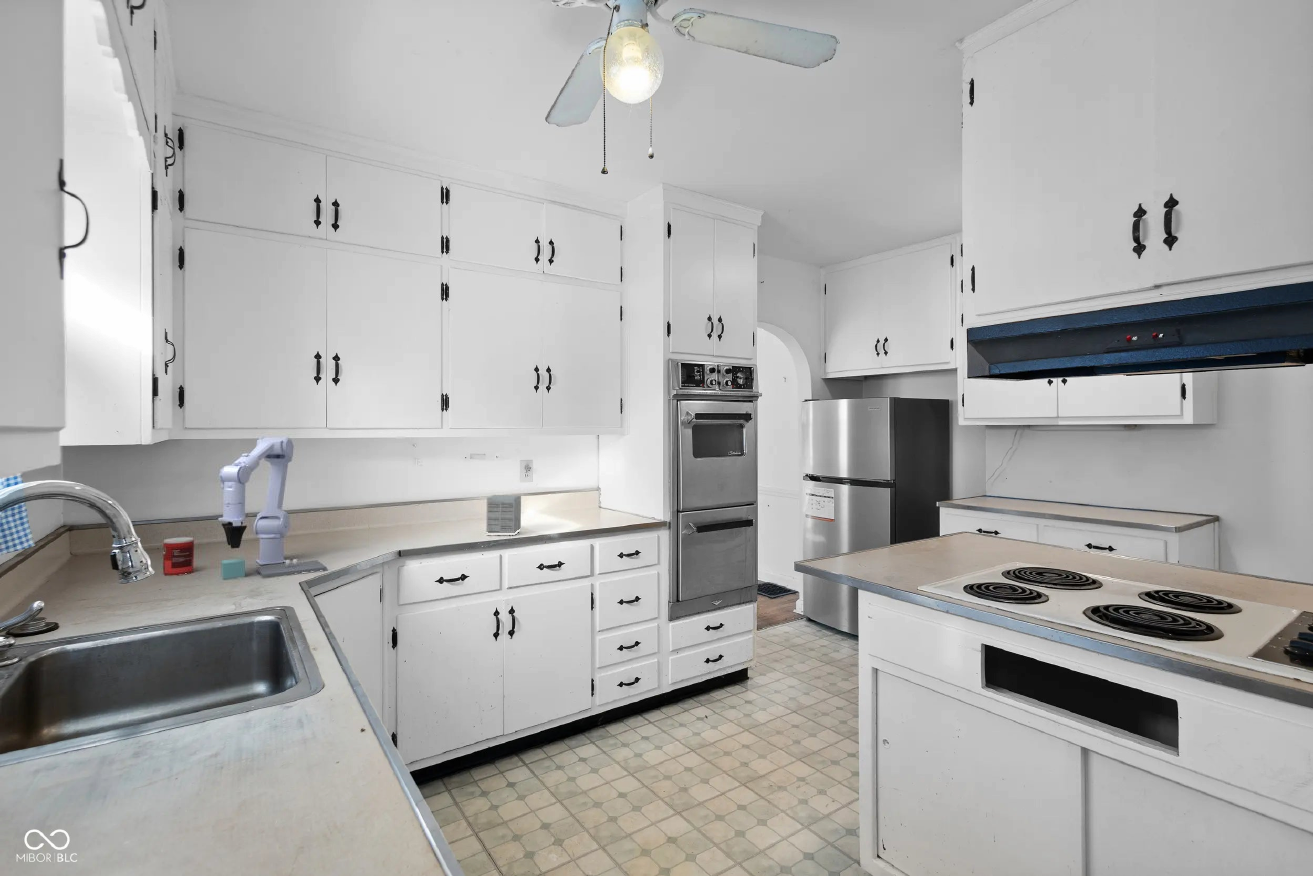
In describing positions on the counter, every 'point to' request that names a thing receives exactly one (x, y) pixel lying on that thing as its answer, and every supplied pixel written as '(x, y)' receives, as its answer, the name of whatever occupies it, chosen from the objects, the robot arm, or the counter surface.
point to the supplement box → (503, 513)
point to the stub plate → (290, 568)
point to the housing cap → (232, 568)
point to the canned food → (178, 556)
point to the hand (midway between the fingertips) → (233, 546)
